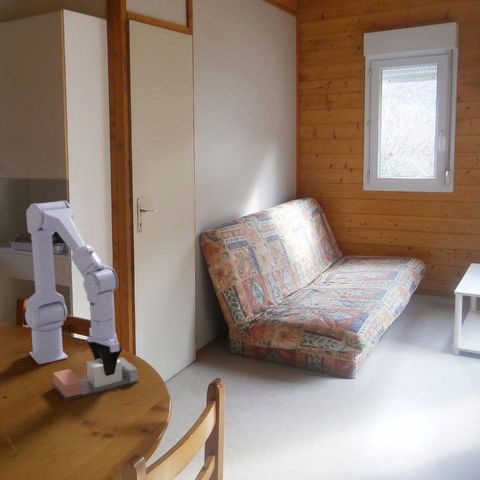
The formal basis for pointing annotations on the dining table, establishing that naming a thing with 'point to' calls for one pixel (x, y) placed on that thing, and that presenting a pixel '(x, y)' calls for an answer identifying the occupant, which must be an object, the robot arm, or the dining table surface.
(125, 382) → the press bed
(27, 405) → the dining table surface
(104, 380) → the block
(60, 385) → the block
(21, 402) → the dining table surface
